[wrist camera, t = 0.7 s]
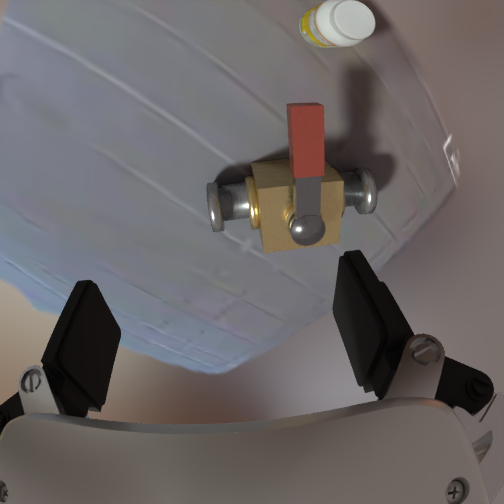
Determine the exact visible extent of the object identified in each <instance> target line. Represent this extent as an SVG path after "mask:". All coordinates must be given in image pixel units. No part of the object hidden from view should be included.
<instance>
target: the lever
mask: <svg viewBox="0 0 504 504" xmlns="http://www.w3.org/2000/svg"><path fill="white" fill-rule="evenodd" d="M286 106H287V121H288V139H289V158H290V172H291V174H292V175H293V206H294V213H293V214H292V215H291V217H290V219H289V221H288V228H289V231H290V234H291V236H292V239H293V240H294V242H296V243H297V244H299V245H302V246H310V245H313V244H315V243H317V242H319V241H320V240H321V239H322V238H323V236H324V234H325V231H326V227H325V223H324V221H323V220H322V218H321V216H320V210H321V176H324V106H323V105H321V104H319V103H292V104H286Z"/></svg>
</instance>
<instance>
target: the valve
mask: <svg viewBox="0 0 504 504" xmlns="http://www.w3.org/2000/svg"><path fill="white" fill-rule="evenodd" d="M251 168H252V176H250V177H245V182H242V183H235V184H227V185H220V186H219V184H218V182H213V183H207V202H208V210H209V216H210V222H211V226H212V229H213V232H221V231H224V221H227V220H235V219H242V218H250V224H251V230H255V229H259V232H260V236H261V241H262V246H263V251H264V253H268V252H276V251H283V250H291V249H298V248H306V247H313V246H321V245H328V244H336V243H339V239H340V228H341V218H342V217H343V214H344V210H345V207H346V206H354V207H355V209H356V210H357V212H358V213H359V214H370V213H373V212H374V210H375V208H376V205H377V185H376V181H375V178H374V176H373V174H372V172H371V171H370V170H369V169H368V168H356V169H354V170H353V172H346V173H338V171H337V170H336V169H333V168H332V167H331V166H330V165H329V164H328V163H327V162H326V161H325V160H324V176H321V210H320V216H321V218H322V220H323V221H324V223H325V227H326V231H325V234H324V236H323V238H322V239H321V240H320V241H319V242H317V243H315V244H313V245H310V246H302V245H299V244H297V243H296V242H294V240H293V239H292V236H291V234H290V231H289V228H288V221H289V219H290V217H291V215H292V214H293V213H294V206H293V175H292V174H291V172H290V159H279V160H270V161H260V162H252V163H251Z"/></svg>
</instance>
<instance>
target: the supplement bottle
mask: <svg viewBox="0 0 504 504" xmlns="http://www.w3.org/2000/svg"><path fill="white" fill-rule="evenodd" d="M299 27H300V32H301V34H302V36H303V37H304V39H305V40H306V41H307V42H309V43H310V44H312V45H314V46H316V47H319V48H333V47H348V46H354V45H357V44H359V43H360V42H361V41H363V40H364V38H367V37H368V36H370V35H371V34H372V33H373V31H374V29H375V18H374V16H373V13H372V12H371V10H370V9H369V8H368V7H367V6H366V5H364V4H363V3H361V2H358V1H355V0H328V1H326V2H324V3H322V4H320V5H318V6H316V7H314V8H312V9H310V10H309V11H307V12H306V13H305V14H304V15H303V16H302V17H301V19H300V23H299Z"/></svg>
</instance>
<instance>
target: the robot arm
mask: <svg viewBox="0 0 504 504" xmlns="http://www.w3.org/2000/svg"><path fill="white" fill-rule="evenodd" d="M333 315H334V318H335V321H336V323H337V326H338V329H339V331H340V334H341V337H342V340H343V342H344V346H345V348H346V351H347V354H348V357H349V360H350V363H351V366H352V368H353V371H354V375H355V378H356V380H357V383H358V385H359V386H363V388H364V391H365V393H367V392H371V391H374V392H375V395H376V396H377V397H378V399H377V401H372V402H368V403H363V404H357V405H353V406H349V407H344V408H339V409H334V410H329V411H323V412H317V413H312V414H306V415H300V416H293V417H286V418H279V419H271V420H262V421H252V422H241V423H226V424H200V425H166V424H163V425H162V424H142V423H127V422H116V421H107V420H98V419H90V418H89V417H88V415H87V413H88V410H89V411H96V412H101V407H102V405H104V404H105V401H106V396H107V391H108V387H109V382H110V378H111V373H112V369H113V365H114V361H115V357H116V353H117V349H118V345H119V342H120V338H121V330H120V327H119V325H118V324H117V322H116V320H115V318H114V317H113V315H112V313H111V311H110V309H109V307H108V305H107V304H106V302H105V300H104V298H103V296H102V294H101V292H100V290H99V288H98V286H97V284H95V283H93V281H91V280H83V281H78V282H77V283H76V285H75V287H74V289H73V290H72V292H71V294H70V296H69V298H68V300H67V302H66V305H65V307H64V309H63V311H62V313H61V315H60V317H59V319H58V322H57V324H56V326H55V328H54V330H53V333H52V335H51V337H50V340H49V342H48V344H47V347H46V350H45V352H44V354H43V357H42V359H41V362H42V363H43V367H42V368H41V367H40V366H37V365H34V366H30V367H28V368H27V369H26V370H24V371H23V373H22V374H21V376H20V378H19V381H18V390H19V391H18V392H17V393H16V394H15V395H13V396H12V397H10V398H9V399H8V400H7V401H5V402H4V403H3V404H2V405H0V504H491V503H492V501H493V500H494V499H495V497H496V496H497V494H498V493H499V491H500V490H501V488H502V486H503V485H504V395H502V394H501V393H500V392H498V393H497V394H496V393H495V392H494V387H493V383H492V381H491V379H490V378H489V377H488V376H487V375H486V374H484V373H483V372H481V371H479V370H476V369H474V368H472V367H469V366H467V365H465V364H462V363H460V362H457V361H455V360H453V359H450V358H448V357H446V356H445V351H444V348H443V346H442V344H441V342H440V341H439V340H438V339H436V338H435V337H433V336H431V335H428V334H417V335H414V333H413V331H412V329H411V328H410V326H409V324H408V322H407V320H406V318H405V317H404V315H403V313H402V311H401V310H400V308H399V306H398V304H397V303H396V301H395V299H394V297H393V296H392V294H391V292H390V291H389V289H388V287H387V286H386V285H385V283H384V282H380V281H379V280H378V278H377V276H376V275H375V273H374V271H373V270H372V268H371V266H370V265H369V263H368V261H367V260H366V258H365V257H364V255H363V253H362V252H361V251H360V250H354V251H346V252H344V255H343V256H340V258H339V265H338V273H337V281H336V288H335V295H334V302H333Z"/></svg>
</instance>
